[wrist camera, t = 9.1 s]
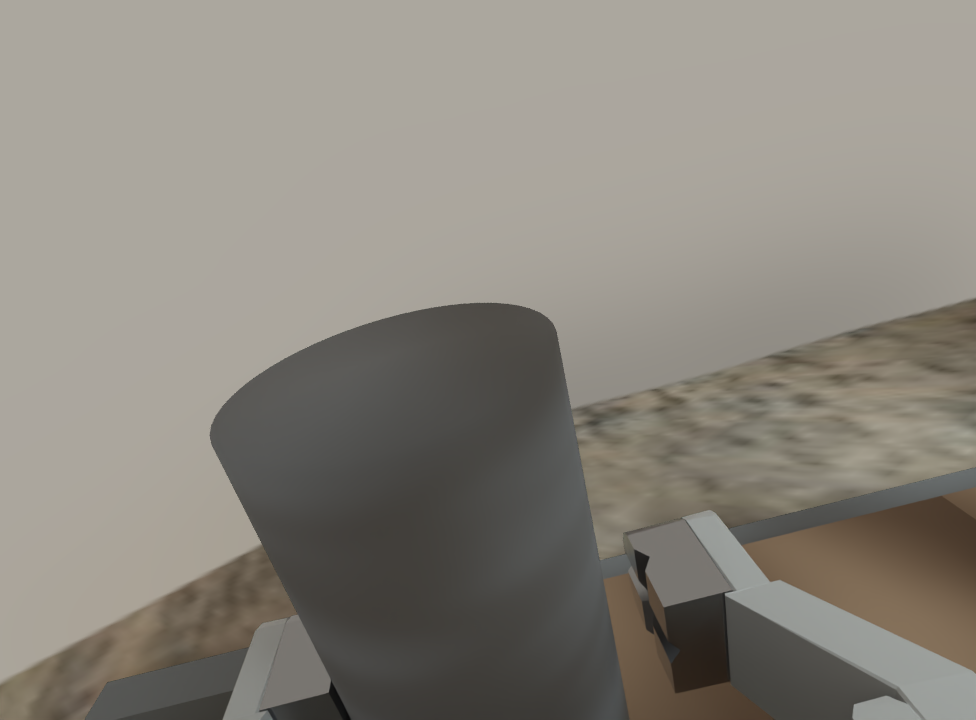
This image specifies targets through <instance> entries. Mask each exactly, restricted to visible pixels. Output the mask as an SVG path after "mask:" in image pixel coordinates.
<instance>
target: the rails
mask: <svg viewBox="0 0 976 720" xmlns="http://www.w3.org/2000/svg"><path fill="white" fill-rule="evenodd" d="M975 487H976V467H975V468H971V469H967V470H963V471H959V472H955V473H951V474H947V475H943V476H939V477H935V478H931V479H927V480H923V481H919V482H915V483H910V484H906V485H902V486H898V487H894V488H890V489H886V490H882V491H878V492H874V493H870V494H866V495H862V496H858V497H854V498H850V499H846V500H842V501H838V502H834V503H830V504H826V505H822V506H818V507H814V508H810V509H805V510H801V511H797V512H793V513H789V514H785V515H781V516H777V517H773V518H769V519H765V520H761V521H757V522H753V523H749V524H745V525H741V526H737V527H733V528H729V530H730V532H731V533H732V534H733V536H734V537H735V538H736V539H737V541H738V542H739V543H740V544H741V545H744V544H748V543H752V542H756V541H760V540H764V539H769V538H773V537H777V536H781V535H785V534H789V533H793V532H797V531H801V530H805V529H809V528H813V527H817V526H821V525H825V524H829V523H833V522H837V521H841V520H845V519H849V518H853V517H857V516H861V515H865V514H870V513H874V512H878V511H882V510H886V509H890V508H894V507H898V506H902V505H906V504H910V503H914V502H918V501H922V500H926V499H930V498H934V497H938V496H942V495H946V494H950V493H954V492H958V491H962V490H966V489H971V488H975ZM600 565H601V570H602V575H603V579H607V578H611V577H615V576H619V575H623V574H627V573H628V570H629V569H630V567H631V563H630V561H629V559H628V557H627V555H626V554H624V555H620V556H616V557H612V558H608V559H604V560H600ZM248 649H249V647H248V648H244V649H240V650H236V651H232V652H228V653H224V654H220V655H216V656H212V657H208V658H204V659H200V660H196V661H192V662H188V663H183V664H179V665H175V666H171V667H167V668H163V669H159V670H155V671H151V672H147V673H143V674H139V675H135V676H131V677H127V678H123V679H119V680H115V681H111V682H107V684H106V685H105V687H104V689H103V690H102V692H101V693H100V695H99V697H98V698H97V700H96V702H95V703H94V705H93V706H92V708H91V710H90V711H89V713H88V715H87V716H86V718H85V720H222V719H223V717H224V714H225V711H226V709H227V706H228V703H229V700H230V698H231V695H232V692H233V690H234V687H235V684H236V681H237V679H238V676H239V673H240V671H241V668H242V665H243V663H244V660H245V657H246V654H247V652H248Z"/></svg>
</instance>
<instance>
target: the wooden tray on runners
mask: <svg viewBox="0 0 976 720" xmlns="http://www.w3.org/2000/svg"><path fill="white" fill-rule="evenodd" d="M210 439H211V444H212V446H213V448H214V450H215V452H216V454H217V456H218V458H219V460H220V462H221V464H222V466H223V468H224V470H225V472H226V474H227V476H228V478H229V480H230V482H231V484H232V486H233V488H234V490H235V492H236V494H237V496H238V497H239V499H240V501H241V503H242V505H243V507H244V509H245V511H246V513H247V515H248V517H249V519H250V521H251V523H252V525H253V527H254V529H255V531H256V533H257V535H258V537H259V538H260V541H261V543H262V545H263V547H264V549H265V551H266V553H267V555H268V557H269V559H270V560H271V562H272V564H273V566H274V568H275V570H276V572H277V574H278V576H279V578H280V580H281V582H282V584H283V586H284V588H285V590H286V592H287V594H288V596H289V598H290V600H291V602H292V604H293V606H294V608H295V610H296V612H297V614H298V616H299V618H300V620H301V622H302V624H303V625H304V627H305V629H306V631H307V633H308V635H309V637H310V639H311V641H312V643H313V645H314V647H315V649H316V651H317V653H318V655H319V657H320V659H321V661H322V663H323V665H324V667H325V669H326V671H327V673H328V675H329V677H330V679H331V681H332V683H333V685H334V687H335V688H336V690H337V692H338V694H339V696H340V698H341V700H342V702H343V704H344V706H345V708H346V710H347V712H348V714H349V716H350V718H351V720H775V719H774V718H773V717H771V716H770V715H769V714H767V713H766V712H765V711H764V710H762V709H761V708H760V707H759V706H757V705H756V704H755V703H754V702H752V701H751V700H750V699H748V698H747V697H746V696H745V695H743V694H742V693H741V692H740V691H738V690H737V689H736V688H734V687H733V686H732V685H731V681H730V682H726V683H721V684H717V685H712V686H708V687H703V688H699V689H695V690H690V691H686V692H681V693H677V694H675V692H674V690H673V688H672V685H671V683H670V681H669V679H668V677H667V674H666V672H665V670H664V668H663V666H662V663H661V661H660V659H659V657H658V655H657V649H656V643H655V636H654V634H652V633H651V632H649V631H648V630H646V628H645V625H644V623H643V621H642V618H641V616H640V614H639V611H638V608H637V606H636V603H635V599H634V596H633V592H632V588H631V584H630V579H629V574H628V573H627V574H623V575H619V576H615V577H611V578H607V579H603V575H602V570H601V565H600V560H599V554H598V549H597V544H596V538H595V533H594V528H593V522H592V517H591V512H590V507H589V501H588V496H587V491H586V485H585V480H584V475H583V469H582V464H581V459H580V454H579V448H578V443H577V438H576V432H575V427H574V422H573V416H572V411H571V406H570V401H569V396H568V390H567V385H566V379H565V374H564V369H563V363H562V358H561V353H560V348H559V342H558V337H557V332H556V329H555V327H554V325H553V323H552V322H551V321H550V320H549V319H548V318H547V317H545V316H544V315H543V314H541V313H539V312H537V311H535V310H532V309H530V308H526V307H522V306H517V305H510V304H501V303H470V304H458V305H448V306H441V307H435V308H429V309H424V310H418V311H414V312H410V313H405V314H400V315H396V316H393V317H389V318H385V319H382V320H379V321H375V322H372V323H368V324H365V325H362V326H359V327H356V328H354V329H351V330H348V331H345V332H342V333H340V334H337V335H335V336H332V337H330V338H327V339H325V340H323V341H321V342H318V343H316V344H313V345H311V346H309V347H307V348H305V349H303V350H301V351H299V352H297V353H295V354H293V355H291V356H289V357H287V358H285V359H284V360H282V361H280V362H279V363H277V364H275V365H273V366H272V367H270V368H268V369H267V370H265V371H264V372H262V373H261V374H259V375H258V376H256V377H255V378H253V379H252V380H251V381H249V382H248V383H247V384H245V385H244V386H243V387H242V388H241V389H239V390H238V391H237V392H236V393H235V394H234V395H233V396H232V397H231V398H230V399H229V400H228V401H227V402H226V403H225V404H224V405H223V406H222V408H221V409H220V411H219V412H218V414H217V415H216V417H215V419H214V421H213V424H212V425H211V431H210ZM741 546H742V547H743V548H744V549H745V551H746V552H747V553H748V555H749V556H750V557H751V558H752V560H753V561H754V562H755V563H756V565H757V566H758V567H759V568H760V570H761V571H762V572H763V573H764V575H765V576H766V577H767V579H768V580H769V581H770V582H773V581H777V580H781V581H783V582H785V583H787V584H790V585H792V586H794V587H796V588H798V589H800V590H802V591H804V592H806V593H809V594H811V595H813V596H815V597H817V598H819V599H821V600H823V601H826V602H828V603H830V604H832V605H834V606H836V607H838V608H840V609H842V610H845V611H847V612H849V613H851V614H853V615H855V616H857V617H859V618H861V619H864V620H866V621H868V622H870V623H872V624H874V625H876V626H878V627H881V628H883V629H885V630H887V631H889V632H891V633H893V634H895V635H897V636H900V637H902V638H904V639H906V640H908V641H910V642H912V643H914V644H917V645H919V646H921V647H923V648H925V649H927V650H929V651H931V652H933V653H936V654H938V655H940V656H942V657H944V658H946V659H948V660H950V661H952V662H955V663H957V664H959V665H961V666H963V667H965V668H967V669H969V670H972V671H973V672H974V673H975V674H976V487H975V488H971V489H966V490H962V491H958V492H954V493H950V494H946V495H942V496H938V497H934V498H930V499H926V500H922V501H918V502H914V503H910V504H906V505H902V506H898V507H894V508H890V509H886V510H882V511H878V512H874V513H870V514H865V515H861V516H857V517H853V518H849V519H845V520H841V521H837V522H833V523H829V524H825V525H821V526H817V527H813V528H809V529H805V530H801V531H797V532H793V533H789V534H785V535H781V536H777V537H773V538H769V539H764V540H760V541H756V542H752V543H748V544H744V545H741Z"/></svg>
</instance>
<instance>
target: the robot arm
mask: <svg viewBox="0 0 976 720" xmlns="http://www.w3.org/2000/svg"><path fill="white" fill-rule="evenodd" d="M623 543H624V549H625V553H626V555H627V557H628V559H629V561H630V563H631V567H630V569H629V570H628V574H629V579H630V584H631V588H632V592H633V596H634V599H635V603H636V606H637V608H638V611H639V614H640V616H641V618H642V621H643V623H644V625H645V628H646V630H648V631H649V632H651V633H652V634H654V636H655V643H656V649H657V655H658V657H659V659H660V661H661V663H662V666H663V668H664V670H665V672H666V674H667V677H668V679H669V681H670V683H671V685H672V688H673V690H674V692H675V694H677V693H681V692H686V691H690V690H695V689H699V688H703V687H708V686H712V685H717V684H721V683H726V682H730V681H731V685H732V686H733V687H734V688H736V689H737V690H738V691H740V692H741V693H742V694H743V695H745V696H746V697H747V698H748V699H750V700H751V701H752V702H754V703H755V704H756V705H757V706H759V707H760V708H761V709H762V710H764V711H765V712H766V713H767V714H769V715H770V716H771V717H773V718H774V719H775V720H976V674H975V673H974V672H973V671H972V670H969V669H967V668H965V667H963V666H961V665H959V664H957V663H955V662H952V661H950V660H948V659H946V658H944V657H942V656H940V655H938V654H936V653H933V652H931V651H929V650H927V649H925V648H923V647H921V646H919V645H917V644H914V643H912V642H910V641H908V640H906V639H904V638H902V637H900V636H897V635H895V634H893V633H891V632H889V631H887V630H885V629H883V628H881V627H878V626H876V625H874V624H872V623H870V622H868V621H866V620H864V619H861V618H859V617H857V616H855V615H853V614H851V613H849V612H847V611H845V610H842V609H840V608H838V607H836V606H834V605H832V604H830V603H828V602H826V601H823V600H821V599H819V598H817V597H815V596H813V595H811V594H809V593H806V592H804V591H802V590H800V589H798V588H796V587H794V586H792V585H790V584H787V583H785V582H783V581H781V580H777V581H773V582H770V581H769V580H768V579H767V577H766V576H765V575H764V573H763V572H762V571H761V570H760V568H759V567H758V566H757V565H756V563H755V562H754V561H753V560H752V558H751V557H750V556H749V555H748V553H747V552H746V551H745V549H744V548H743V547H742V546H741V544H740V543H739V542H738V541H737V539H736V538H735V537H734V536H733V534H732V533H731V532H730V530H729V529H728V528H727V527H726V525H725V524H724V523H723V522H722V520H721V519H720V518H719V517H718V515H717V514H716V513H715V512H713V511H711V510H707V511H703V512H700V513H696V514H692V515H688V516H685V517H681V519H679V518H678V519H674V520H671V521H667V522H663V523H659V524H655V525H652V526H648V527H644V528H640V529H636V530H633V531H629V532H625V533H623ZM222 720H351V718H350V716H349V714H348V712H347V710H346V708H345V706H344V704H343V702H342V700H341V698H340V696H339V694H338V692H337V690H336V688H335V687H334V685H333V683H332V681H331V679H330V677H329V675H328V673H327V671H326V669H325V667H324V665H323V663H322V661H321V659H320V657H319V655H318V653H317V651H316V649H315V647H314V645H313V643H312V641H311V639H310V637H309V635H308V633H307V631H306V629H305V627H304V625H303V624H302V622H301V620H300V618H299V616H298V615H293V616H291V617H288V618H284V619H279V620H275V621H270V622H265V623H262V624H261V625H260V626H259V627H258V629H257V630H256V631H255V633H254V635H253V638H252V641H251V644H250V646H249V649H248V652H247V654H246V657H245V660H244V663H243V665H242V668H241V671H240V673H239V676H238V679H237V681H236V684H235V687H234V690H233V692H232V695H231V698H230V700H229V703H228V706H227V709H226V711H225V714H224V717H223V719H222Z"/></svg>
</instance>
